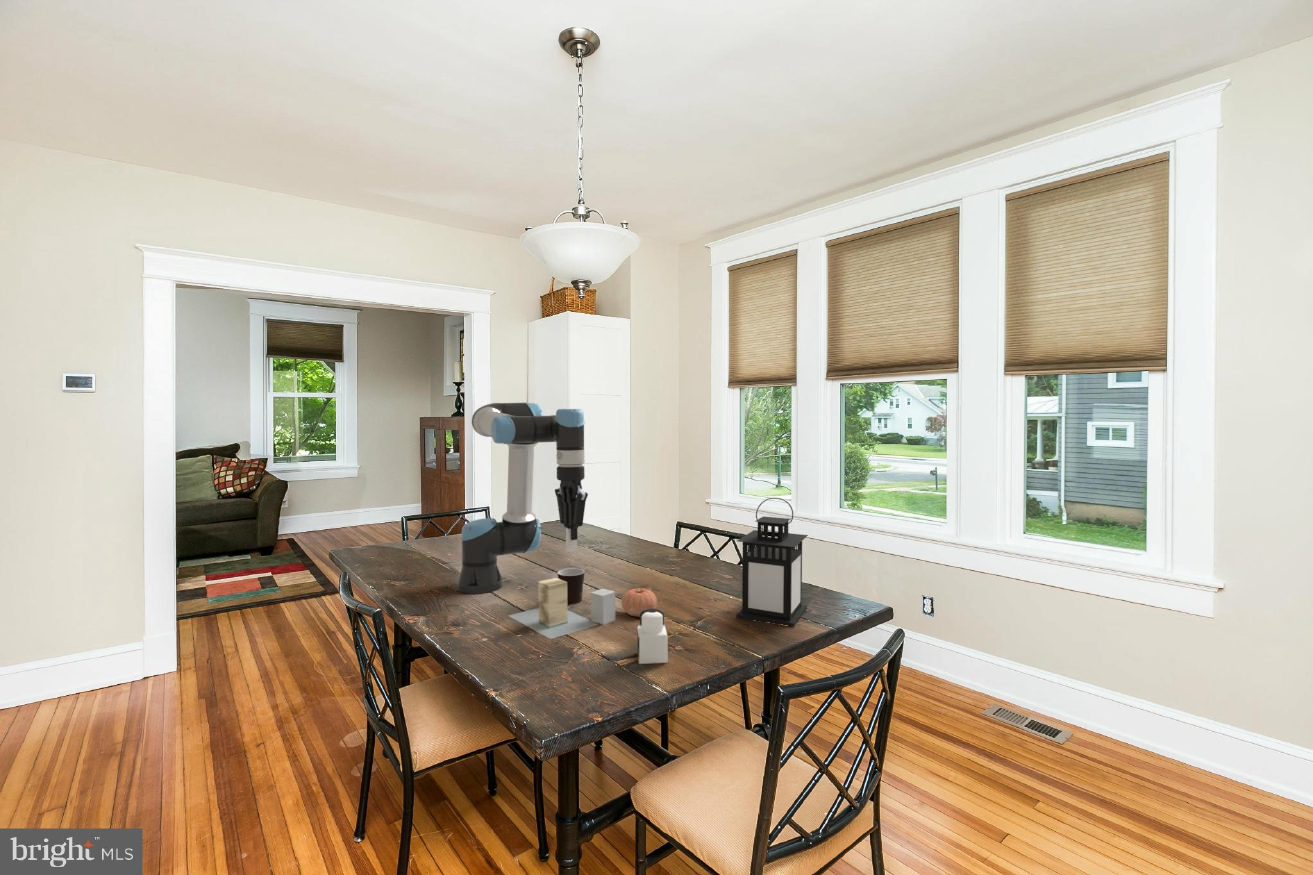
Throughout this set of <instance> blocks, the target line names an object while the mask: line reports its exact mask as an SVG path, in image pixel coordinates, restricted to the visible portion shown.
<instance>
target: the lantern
mask: <svg viewBox="0 0 1313 875" xmlns="http://www.w3.org/2000/svg"><path fill="white" fill-rule="evenodd" d="M774 499H775V500H780V501H783V502H785V503H786V504H787V505H788V506H789V507H790V510H791V518H788V517H787V518H786V517H777V516H775V517H774V516H773V517H772V516H761V517H759V518H758V510H759V509H760V507H761V505H762V504H764V503H765V502H766V501H769V500H774ZM755 518H756V520H755V521H754V522H755V523H756V522H757V530H756V529H754V530H752V531H750V532H749V533H747V534H745V535H744V536H742V537H740V538H739V539H737V540H736V542H739V543H740V542H741V543H742V571H741V572H742V574H741V575H742V581H741V582H742V586H741V588H742V595H741V596H742V598H741V599H742V602H741V603H742V604H741V605H742V607H741V609H740V610H739V611H738V612H737V613H736V614H735V619H738V618H739V620H744V619H747V620H746V621H751V620H756V621H755V622H757V621H761V622H760V623H763V622H770V623H775V624H774V625H776V624H783V625H788V626H795V627H796V625H797V624H798V623H797V622H799V621H800V620H801V618H802V617H803V616H804V614H805V613H806V611H807V610H808V605H807V604H803V603H802V602H803V600H802V599H803V598H802V595H803V592H802V590H803V589H802V588H803V584H802V583H803V540H805V539H806V538H807V537H808V536H809V534H808V535H807V534H800V533H799V534H798V533H791V532H790V533H789V524H791V523H792V521H793V520H794V510H793V507H792V505H791V504H790V503H789V502H788V501H787V500H785V499H784V498H781V497H768V498H767V499H764V500H763V501H761V503H760V504H759V505H758V506H757V509H756V513H755ZM769 527H771V528H770V529H771V530H770V531H769ZM776 527H777V532H776ZM806 609H807V610H806ZM805 610H806V611H805ZM804 612H805V613H804ZM803 613H804V614H803ZM802 615H803V616H802ZM801 616H802V617H801ZM800 617H801V618H800ZM799 619H800V620H799ZM798 620H799V621H798ZM796 623H797V624H796ZM795 624H796V625H795ZM788 626H787V627H788Z"/></svg>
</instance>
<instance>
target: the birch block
mask: <svg viewBox="0 0 1313 875" xmlns="http://www.w3.org/2000/svg"><path fill="white" fill-rule="evenodd" d="M537 586H538V588H537V591H538V594H537V597H538V598H537V599H538V601H537V602H538V604H537V605H538V608H539V623H541V624H543V625H545V626H547V627H548V628H552V627H555V626H559V625H563V624H566V623H568V611H569V610H568V609H569V608H568V606H569V605H568V604H567V582H566V581H563V580H561V579H558V577H554V578H553V577H552V578H548V579H543V580H540V581H539V580H538V583H537Z"/></svg>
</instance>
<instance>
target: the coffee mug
mask: <svg viewBox="0 0 1313 875" xmlns="http://www.w3.org/2000/svg"><path fill="white" fill-rule="evenodd" d="M585 572H586V571H585V570H584V569H581V568H575V567H572V568H564V569H560V570H558V571H557V578H558V579H561V580H563V581H566V582H567V605H576V604H580V603H581V602H582V601H583V600H582V599H583V592H584V591H583V590H584V582H585V581H584V580H585Z"/></svg>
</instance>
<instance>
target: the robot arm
mask: <svg viewBox="0 0 1313 875" xmlns="http://www.w3.org/2000/svg"><path fill="white" fill-rule="evenodd" d="M471 426H472V428H473V430H474V431H475V432H476V433H477V434H478V435H480V436H482V437H486V438H488V437H490V438H492V440H493V442H494V443H495V444H503V445H507V447H508V456H507V458H508V459H507V460H508V463H507V491H506V492H507V494H506V495H507V498H506V501H507V502H506V512H505V513H503V514H502V516H501V519H502V520H501V521H497V520H496V518H495V517H493V518H492V517H489V518H480V519H479V518H478V519H475V520H471V521H469V522H466V523H464V525H463V526H462V528H461V537H460V540H461V570H460V572H459V576H458V579H457V582H456V587H457V591H458V592H460V593H463V594H470V595H471V594H476V595H477V594H485V593H490V592H491V593H492V592H494V591H498V590H500V589H501V588H502V587H503V577H502V575H501V572H500V569H499V566H498V562H497V561H498V556H506V555H516V554H526V553H529V552H533V551H535V550H537V548H538V546H539V545H540V542H541V535H542V530H541V522H540V520H539V519H537V516H536V514H535V513H534V512H533V486H534V485H533V482H534V481H533V480H534V458H535V457H534V456H535V454H534V453H535V447H536V446H537V445H538V444H539V443H556V446H555V448H556V455H555V456H556V464H557V465H558V466H557V467H556V479H557V480H558V481H559V482H560V483H559V487H558V488H555V489H554V493H555V494H554V495H555V496H556V500H557V509H558V514H559V515H558V516H559V521H560V524H561V525H563V526H564V528H565V531H564V532H565V552H567V553H573V552H577V551H578V534H579V533H578V528H579V527H582V526H583V524H584V519H585V518H584V516H585V510H586V509H585V508H586V501H587V498H588V495H589V493H588V492H586V491H585V492H584V491H583V485H582V480H585V474H586V473H585V465H584V464H585V461H586V460H585V418H584V411H583V410H582V409H581V408H558V409H557V410H556V412H555V414H553V415H552V414H551V415H544V412H543V410H542V408H541V406H540V405H539V404H538V403H534V402H532V403H531V402H503V403H502V402H493V403H487V404H485V405H481V406H480V407H478V408H477V409H476V410H475V411H474V413H473V415H472V417H471Z"/></svg>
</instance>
